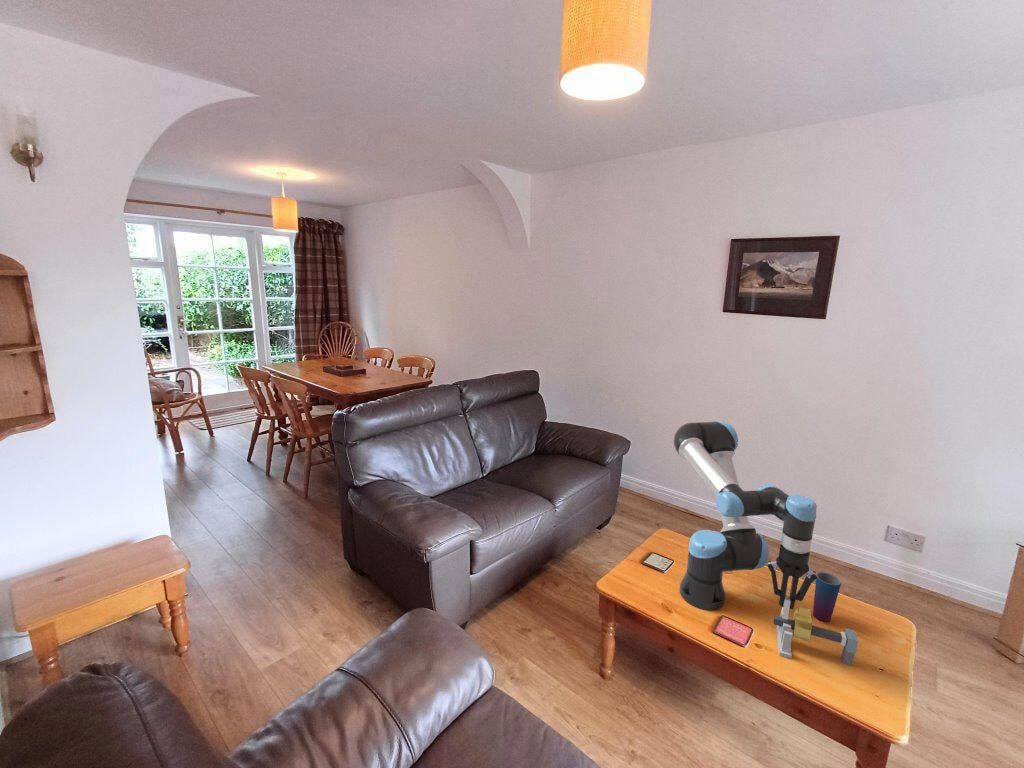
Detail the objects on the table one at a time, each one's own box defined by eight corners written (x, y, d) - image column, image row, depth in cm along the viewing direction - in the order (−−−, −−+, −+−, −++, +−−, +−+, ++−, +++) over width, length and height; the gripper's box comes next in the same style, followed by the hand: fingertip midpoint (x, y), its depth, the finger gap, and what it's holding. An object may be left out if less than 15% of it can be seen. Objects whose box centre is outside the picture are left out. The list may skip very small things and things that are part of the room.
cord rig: (771, 653, 139) (775, 627, 137) (769, 624, 150) (773, 600, 148) (856, 679, 130) (861, 651, 128) (846, 646, 141) (851, 621, 139)
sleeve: (793, 637, 139) (797, 612, 137) (791, 626, 143) (796, 601, 141) (809, 641, 137) (813, 616, 135) (806, 630, 142) (811, 605, 140)
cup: (826, 627, 149) (833, 587, 146) (805, 614, 155) (812, 575, 151) (838, 620, 152) (845, 581, 149) (817, 607, 158) (823, 569, 155)
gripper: (770, 548, 135) (760, 617, 140) (823, 560, 130) (810, 631, 135) (769, 535, 142) (760, 602, 147) (819, 546, 136) (807, 615, 141)
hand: (784, 616), depth 141 cm, fingers closed
